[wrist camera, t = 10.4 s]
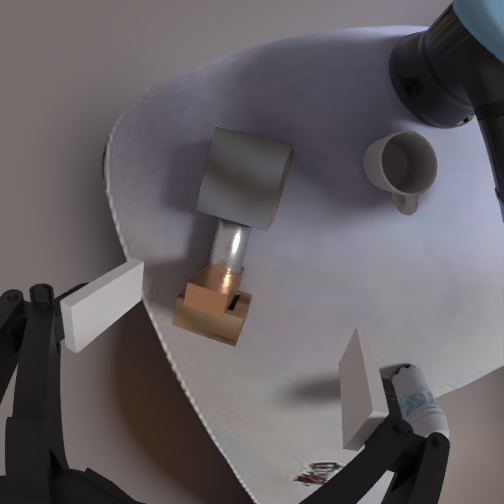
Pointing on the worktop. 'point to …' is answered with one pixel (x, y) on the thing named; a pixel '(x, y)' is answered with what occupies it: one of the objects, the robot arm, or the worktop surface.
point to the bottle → (418, 402)
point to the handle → (220, 270)
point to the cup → (401, 167)
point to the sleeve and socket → (236, 212)
